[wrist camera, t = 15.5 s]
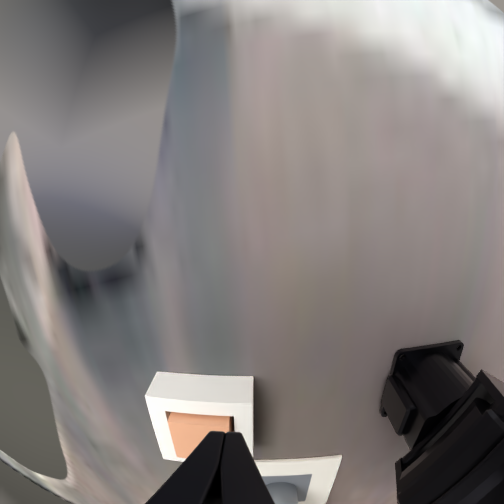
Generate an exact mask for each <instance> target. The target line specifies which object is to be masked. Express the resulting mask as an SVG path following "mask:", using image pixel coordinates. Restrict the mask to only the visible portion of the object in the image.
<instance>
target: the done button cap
mask: <svg viewBox="0 0 504 504" xmlns="http://www.w3.org/2000/svg"><path fill="white" fill-rule="evenodd" d="M167 422H168V426H169V430H170V434H171V438H172V441H173V445H174V449H175V452H176V456H177V457H179V458H187V457H188V456H189V455H190V454H191V453H192V451H193V450H194V449H195V448H196V447H197V446H198V444H199V443H200V442H201V441H202V440H203V438H204V437H205V436H206V435H207V434H208V433H209V432H210V431H223V432H225V433H226V432H234V423H233V416H216V415H201V414H188V413H178V412H171V413H170V416H169V419H168V421H167Z"/></svg>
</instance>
